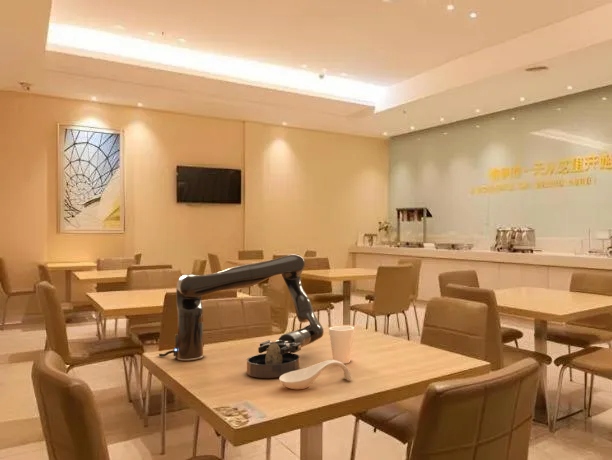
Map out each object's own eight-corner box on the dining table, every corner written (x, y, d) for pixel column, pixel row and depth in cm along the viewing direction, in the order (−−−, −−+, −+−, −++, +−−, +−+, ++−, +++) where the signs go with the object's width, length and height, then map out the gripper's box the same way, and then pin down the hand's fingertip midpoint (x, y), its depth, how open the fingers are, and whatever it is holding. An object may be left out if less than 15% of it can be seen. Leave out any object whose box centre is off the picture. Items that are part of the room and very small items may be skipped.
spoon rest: (284, 394, 164) (284, 371, 164) (274, 385, 174) (274, 363, 174) (355, 383, 176) (355, 362, 176) (342, 375, 186) (342, 354, 186)
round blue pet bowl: (236, 377, 183) (236, 363, 183) (263, 364, 201) (264, 351, 201) (284, 381, 179) (284, 366, 179) (308, 367, 196) (308, 354, 196)
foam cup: (324, 361, 205) (324, 328, 204) (343, 357, 211) (343, 325, 211) (340, 366, 198) (340, 331, 198) (358, 361, 205) (358, 328, 205)
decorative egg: (281, 372, 187) (281, 344, 187) (264, 373, 186) (264, 344, 186) (283, 367, 193) (283, 340, 193) (266, 368, 192) (266, 341, 192)
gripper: (275, 330, 205) (252, 339, 189) (309, 332, 202) (288, 341, 186) (275, 350, 205) (252, 360, 189) (309, 352, 202) (288, 362, 186)
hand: (270, 351), depth 188 cm, fingers open, 8 cm apart
